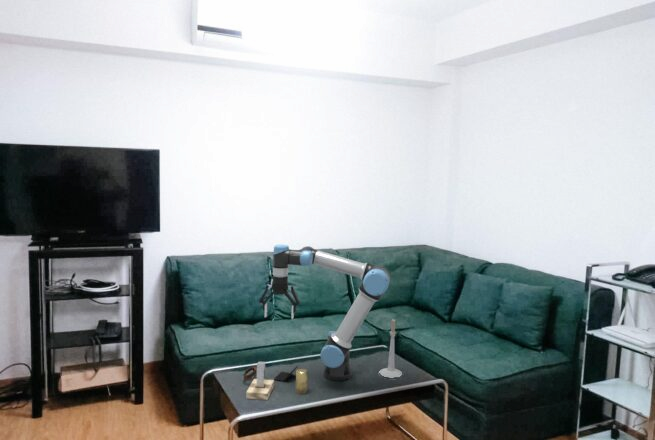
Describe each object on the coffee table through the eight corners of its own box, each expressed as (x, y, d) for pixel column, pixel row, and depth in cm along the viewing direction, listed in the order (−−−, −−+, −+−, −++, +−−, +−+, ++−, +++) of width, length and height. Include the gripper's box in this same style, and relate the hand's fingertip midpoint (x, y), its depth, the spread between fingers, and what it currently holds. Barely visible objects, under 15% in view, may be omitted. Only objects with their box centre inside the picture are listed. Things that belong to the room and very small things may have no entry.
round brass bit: (307, 389, 243) (308, 369, 243) (306, 394, 238) (306, 373, 237) (296, 388, 244) (297, 368, 243) (294, 393, 238) (295, 372, 238)
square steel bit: (264, 390, 240) (265, 361, 239) (263, 393, 237) (264, 364, 235) (257, 390, 240) (258, 361, 239) (256, 392, 237) (256, 364, 236)
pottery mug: (263, 386, 246) (255, 373, 244) (246, 392, 248) (238, 379, 246) (268, 371, 257) (260, 358, 255) (252, 377, 260) (245, 365, 258)
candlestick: (373, 373, 267) (376, 318, 265) (389, 368, 275) (392, 314, 273) (391, 381, 257) (394, 323, 255) (408, 375, 266) (410, 319, 263)
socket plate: (273, 386, 246) (274, 380, 246) (267, 400, 230) (267, 393, 230) (253, 384, 247) (254, 378, 247) (246, 398, 231) (246, 392, 231)
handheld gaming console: (277, 369, 263) (289, 357, 261) (288, 378, 263) (299, 365, 261) (271, 381, 252) (283, 368, 249) (283, 390, 252) (295, 377, 250)
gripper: (306, 275, 254) (304, 316, 255) (257, 273, 256) (256, 314, 257) (304, 278, 246) (302, 320, 248) (254, 275, 248) (252, 318, 250)
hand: (279, 317), depth 252 cm, fingers open, 13 cm apart
